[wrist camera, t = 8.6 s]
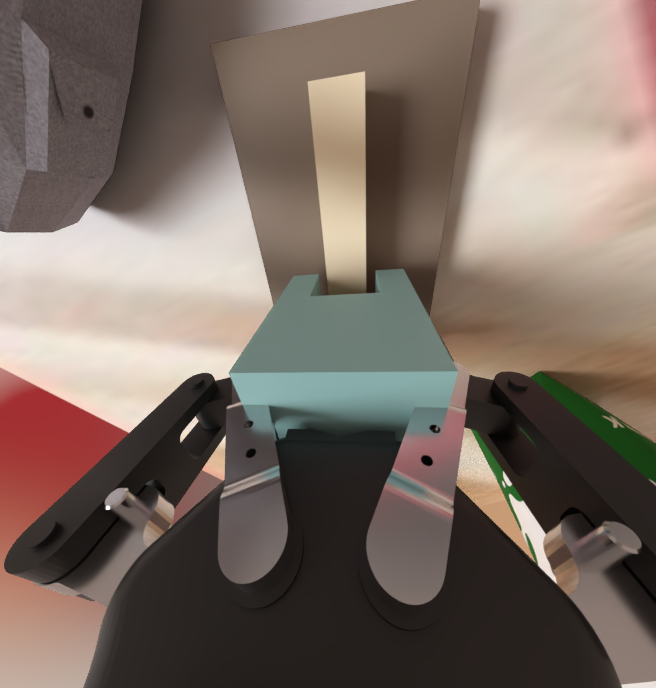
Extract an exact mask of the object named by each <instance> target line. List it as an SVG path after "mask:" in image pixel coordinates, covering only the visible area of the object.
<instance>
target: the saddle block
mask: <svg viewBox="0 0 656 688" xmlns="http://www.w3.org/2000/svg"><path fill="white" fill-rule="evenodd" d="M229 375H230V377H231V380H232V382H233V384H234V387H235V389H236V391H237V393H238V396H239V398H240V400H241V403H242V405H269V408H270V411H271V414H272V417H273V420H274V422H275V429H276V432H277V434H278V437H279V439H281V438H284V437H286V433H287V430H288V429H313V430H317V431H320V432H324V433H328V434H331V435H335V436H345V435H350V434H354V433H359V432H364V431H390V432H395V436H396V441H400V442H402V441H403V438H404V435H405V432H406V430H407V427H408V424H409V421H410V418H411V416H412V413H413V410H414V407H436V408H448V407H449V403H450V400H451V396H452V393H453V389H454V385H455V382H456V378H457V375H458V370H457V368H456V366H455V364H454V362H453V360H452V359H451V357H450V355H449V353H448V351H447V349H446V347H445V346H444V344H443V342H442V340H441V338H440V336H439V334H438V332H437V331H436V329H435V327H434V325H433V323H432V321H431V319H430V318H429V316H428V314H427V312H426V310H425V308H424V306H423V304H422V303H421V301H420V299H419V297H418V295H417V293H416V291H415V289H414V288H413V286H412V284H411V282H410V280H409V278H408V276H407V275H406V273H405V271H404V269H390V270H376V276H375V293H364V294H344V295H325V296H321V287H320V279H319V274H313V275H298V276H293V278H292V279H291V281H290V282H289V284H288V285H287V287H286V288H285V290H284V291H283V293H282V294H281V296H280V297H279V299H278V300H277V302H276V303H275V304H274V306H273V307H272V309H271V310H270V312H269V313H268V315H267V316H266V318H265V319H264V321H263V322H262V324H261V325H260V327H259V328H258V330H257V331H256V333H255V334H254V336H253V337H252V339H251V340H250V342H249V343H248V345H247V346H246V348H245V349H244V351H243V352H242V354H241V355H240V357H239V358H238V360H237V361H236V363H235V364H234V366H233V367H232V369H231V370H230V372H229Z"/></svg>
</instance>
